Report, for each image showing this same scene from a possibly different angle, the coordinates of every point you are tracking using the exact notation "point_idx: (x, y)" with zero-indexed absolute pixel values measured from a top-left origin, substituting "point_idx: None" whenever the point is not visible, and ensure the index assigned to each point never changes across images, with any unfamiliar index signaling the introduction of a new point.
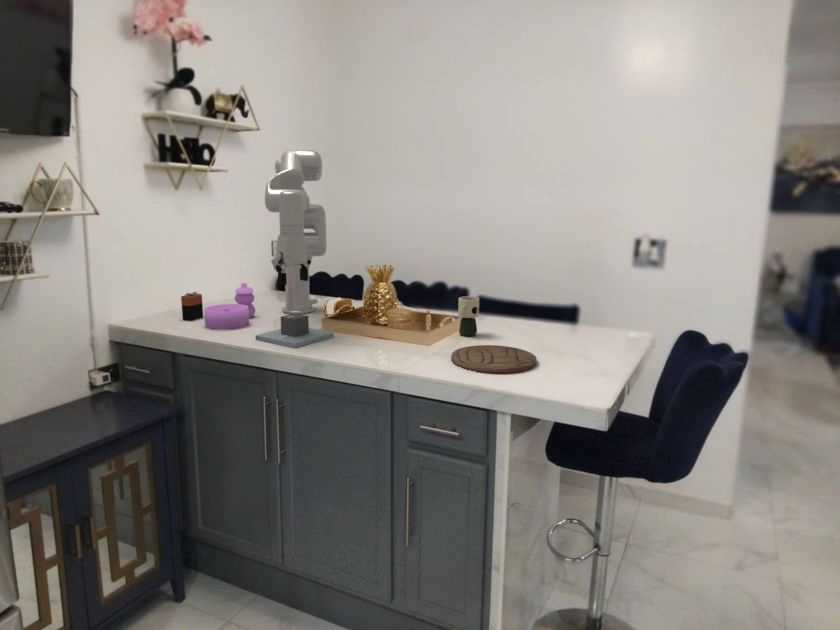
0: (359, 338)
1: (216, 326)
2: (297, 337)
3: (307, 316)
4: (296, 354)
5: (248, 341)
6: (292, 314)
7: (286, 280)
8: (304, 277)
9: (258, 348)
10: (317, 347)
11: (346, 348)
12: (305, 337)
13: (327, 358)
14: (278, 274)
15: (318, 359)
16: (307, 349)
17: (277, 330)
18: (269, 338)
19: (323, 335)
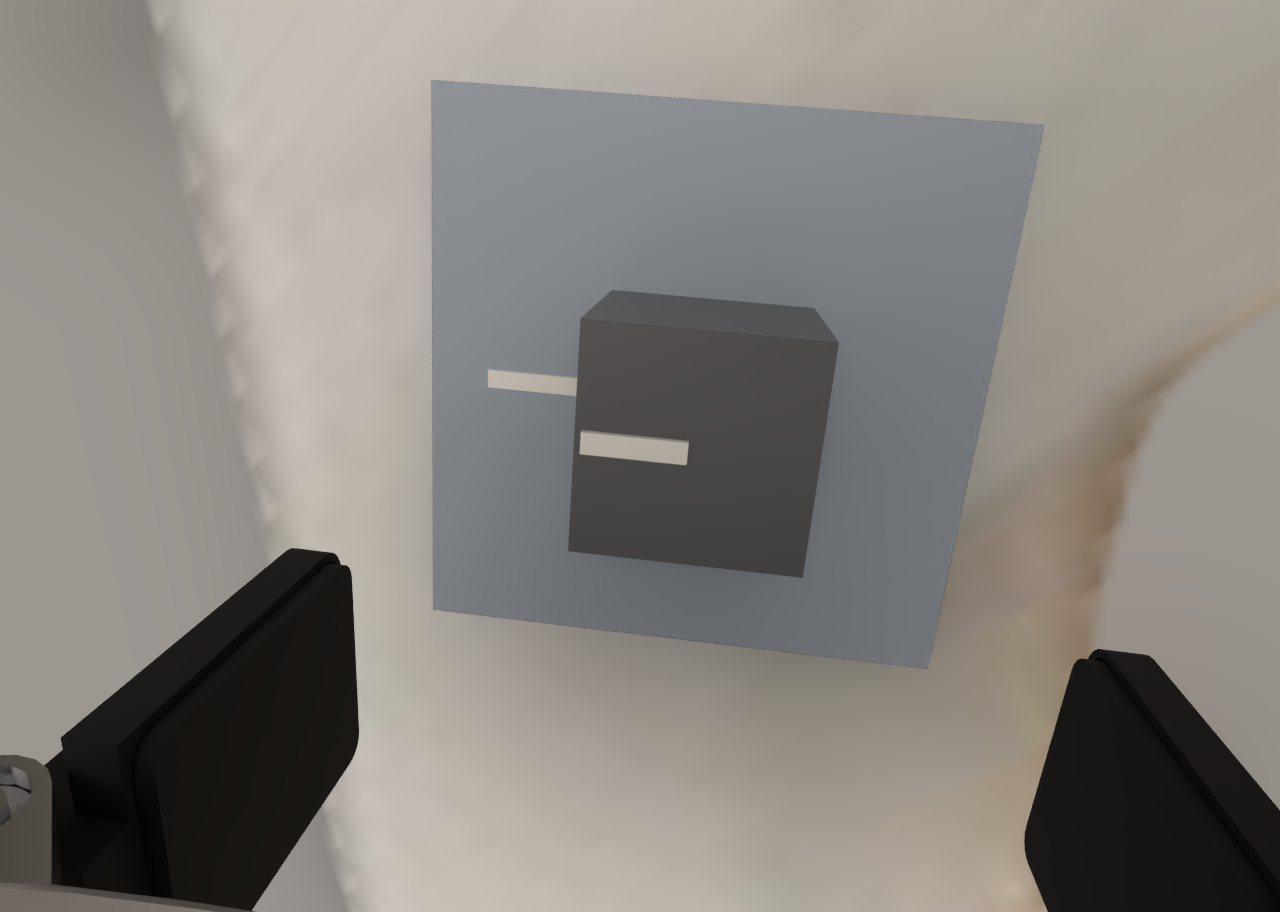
0: (978, 834)
1: None
2: None
3: (784, 575)
4: None
5: (358, 73)
6: (768, 361)
7: (308, 823)
8: (1069, 854)
9: (262, 345)
10: (569, 713)
11: (665, 886)
12: (645, 562)
13: (398, 898)
14: (58, 774)
15: (346, 867)
16: (482, 684)
17: (722, 129)
18: (434, 298)
19: (790, 650)
